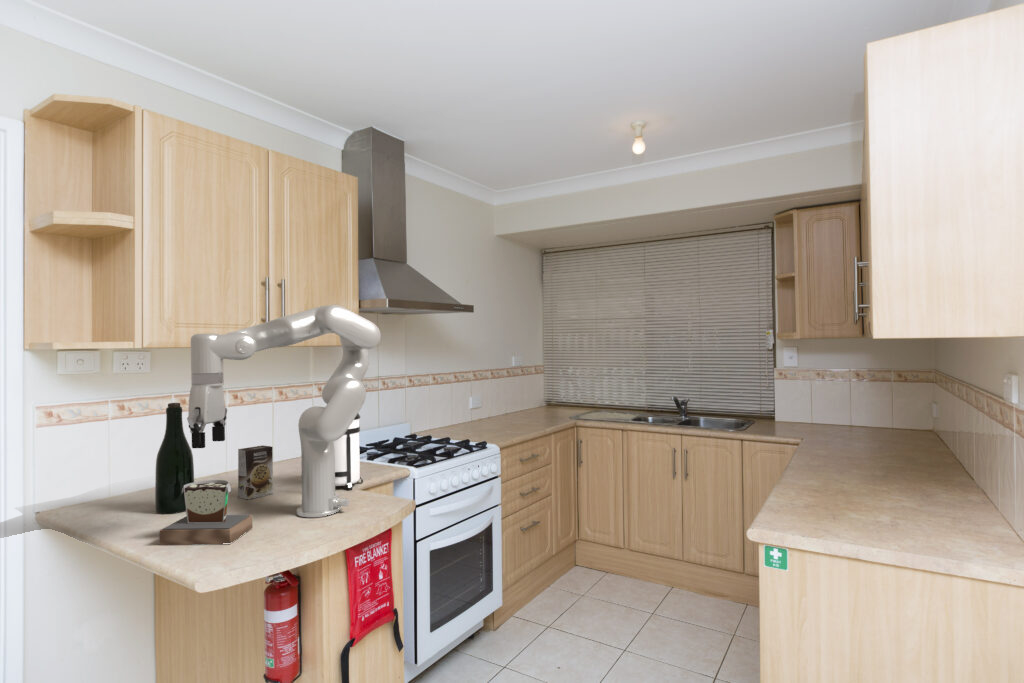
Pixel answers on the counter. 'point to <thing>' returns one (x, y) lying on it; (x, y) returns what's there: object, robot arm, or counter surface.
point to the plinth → (205, 531)
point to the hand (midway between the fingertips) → (208, 444)
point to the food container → (206, 501)
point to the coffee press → (348, 456)
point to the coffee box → (255, 471)
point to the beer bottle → (173, 464)
